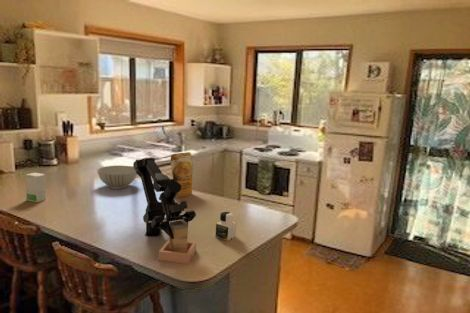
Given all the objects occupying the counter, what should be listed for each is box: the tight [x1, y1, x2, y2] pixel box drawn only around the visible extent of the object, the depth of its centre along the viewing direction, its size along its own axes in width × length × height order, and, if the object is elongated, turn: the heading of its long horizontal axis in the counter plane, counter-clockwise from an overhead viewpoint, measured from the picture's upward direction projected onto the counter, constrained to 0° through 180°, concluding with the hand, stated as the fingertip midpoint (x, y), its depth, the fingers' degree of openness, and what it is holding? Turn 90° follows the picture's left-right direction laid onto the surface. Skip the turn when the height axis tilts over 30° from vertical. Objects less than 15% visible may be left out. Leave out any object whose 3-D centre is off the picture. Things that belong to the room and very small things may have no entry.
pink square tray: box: [158, 239, 197, 265], centre depth 151 cm, size 12×12×4 cm
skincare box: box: [25, 172, 47, 203], centre depth 209 cm, size 8×7×16 cm
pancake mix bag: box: [170, 151, 194, 199], centre depth 234 cm, size 7×19×28 cm, turn 136°
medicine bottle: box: [215, 211, 237, 241], centre depth 173 cm, size 7×7×12 cm
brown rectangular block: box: [168, 220, 189, 253], centre depth 150 cm, size 5×6×12 cm
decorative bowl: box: [96, 164, 138, 190], centre depth 246 cm, size 27×27×12 cm
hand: (180, 237), depth 149 cm, fingers closed on brown rectangular block, 6 cm apart
